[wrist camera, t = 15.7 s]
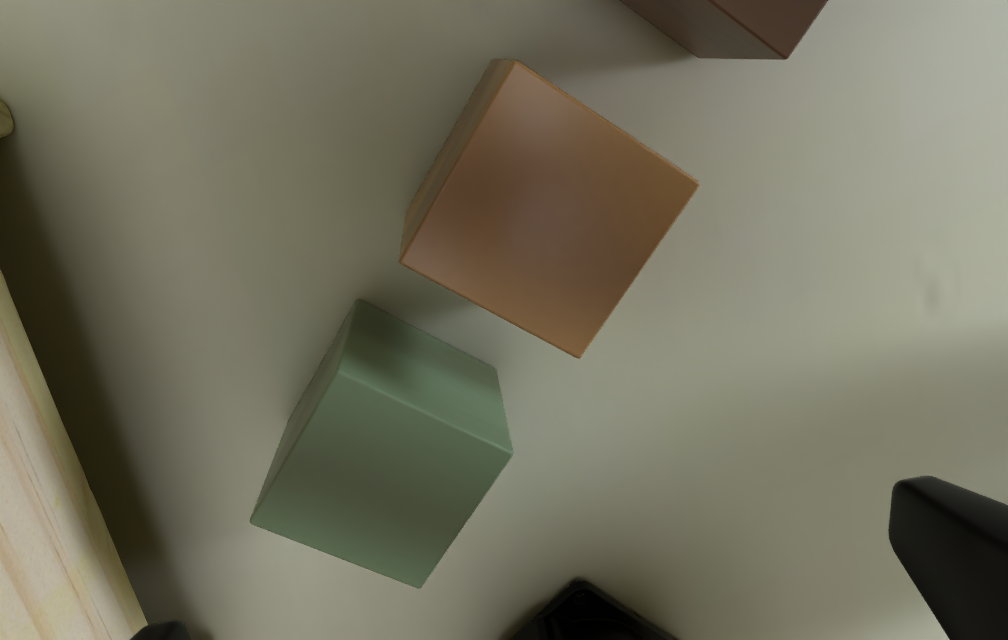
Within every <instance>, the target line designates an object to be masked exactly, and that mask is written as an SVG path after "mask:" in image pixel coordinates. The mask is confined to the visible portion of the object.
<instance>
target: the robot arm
mask: <svg viewBox="0 0 1008 640" xmlns="http://www.w3.org/2000/svg"><path fill="white" fill-rule="evenodd" d="M888 531H889V539H890V543H891V546H892V548H893V550H894V552H895V554H896V555H897V557H898V559H899V560H900V562H901V563H902V565H903V566H904V568H905V570H906V571H907V573H908V574H909V576H910V578H911V579H912V581H913V582H914V584H915V585H916V587H917V589H918V590H919V592H920V593H921V595H922V596H923V598H924V600H925V601H926V603H927V604H928V606H929V608H930V609H931V611H932V612H933V614H934V615H935V617H936V619H937V620H938V622H939V623H940V625H941V627H942V628H943V630H944V631H945V633H946V634H947V636H948V638H949V639H950V640H1008V505H1006V504H1004V503H1001V502H998V501H996V500H993V499H991V498H988V497H985V496H983V495H980V494H977V493H975V492H972V491H970V490H967V489H964V488H962V487H959V486H956V485H954V484H951V483H949V482H946V481H943V480H941V479H938V478H935V477H932V476H920V477H915V478H909V479H904V480H900V481H898V482H897V483H896V484H895V485H894V487H893V490H892V498H891V508H890V519H889V529H888ZM581 593H584V594H583V595H581V596H577V595H578V594H581ZM129 640H192V638H191V636H190V634H189V632H188V629H187V627H186V626H185V624H184V623H183V622H182V621H180V620H170V621H165V622H160V623H154V624H150V625H147V626H145V627H143V628H142V629H140V630H139V631H138V632H137V633H136V634H135V635H134V636H133V637H132V638H131V639H129ZM511 640H676V639H674V638H673V637H671V636H669V635H668V634H666V633H665V632H663V631H662V630H660V629H659V628H657V627H656V626H654V625H653V624H651V623H650V622H648V621H647V620H645V619H644V618H642V617H640V616H639V615H637V614H636V613H634V612H633V611H631V610H630V609H628V608H627V607H625V606H624V605H622V604H621V603H619V602H618V601H616V600H615V599H613V598H611V597H610V596H608V595H607V594H605V593H604V592H602V591H601V590H599V589H598V588H596V587H595V586H593V585H592V584H590V583H589V582H586V581H581V580H579V581H575V582H573V583H572V584H570V585H569V586H568V587H567V588H566V589H565V590H564V591H562V592H561V593H560V594H559V595H558V596H557V597H556V598H555V599H554V600H553V601H552V602H551V603H550V604H549V605H547V606H546V607H545V608H544V609H543V610H542V611H541V612H540V613H539V614H538V615H537V616H536V617H535V618H533V619H532V620H531V621H530V622H529V623H528V624H527V625H526V626H525V627H524V628H523V629H522V630H521V631H520V632H518V633H517V634H516V635H515V636H514V637H513V638H512V639H511Z"/></svg>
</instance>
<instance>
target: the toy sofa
mask: <svg viewBox="0 0 1008 640" xmlns="http://www.w3.org/2000/svg"><path fill="white" fill-rule="evenodd" d="M12 131H13V120H12V118H11V115H10V112H9V110H8V108H7V107H6V105H5V104H4V103H3V102H1V101H0V138H2V137H5V136H7V135H9V134H10V133H11V132H12ZM147 625H148V623H147V621H146V619H145V616H144V614H143V612H142V609H141V607H140V605H139V602H138V600H137V598H136V595H135V593H134V591H133V588H132V586H131V584H130V582H129V579H128V577H127V575H126V572H125V570H124V567H123V565H122V563H121V560H120V558H119V555H118V553H117V551H116V548H115V546H114V543H113V541H112V538H111V536H110V533H109V531H108V528H107V526H106V523H105V521H104V518H103V516H102V514H101V511H100V509H99V507H98V504H97V502H96V500H95V498H94V495H93V493H92V492H91V490H90V488H89V485H88V482H87V479H86V476H85V474H84V471H83V469H82V466H81V464H80V462H79V460H78V457H77V455H76V453H75V450H74V448H73V446H72V443H71V441H70V439H69V437H68V434H67V432H66V430H65V427H64V425H63V423H62V420H61V418H60V415H59V413H58V410H57V408H56V406H55V403H54V401H53V398H52V396H51V393H50V391H49V388H48V386H47V383H46V381H45V379H44V376H43V374H42V371H41V369H40V366H39V364H38V361H37V359H36V357H35V354H34V352H33V349H32V347H31V344H30V342H29V339H28V337H27V334H26V332H25V330H24V327H23V325H22V322H21V320H20V317H19V315H18V312H17V310H16V307H15V305H14V303H13V300H12V298H11V295H10V292H9V290H8V287H7V284H6V281H5V279H4V276H3V274H2V271H1V269H0V640H129V639H131V638H132V637H133V636H134V635H135V634H136V633H137V632H138V631H139V630H140V629H142V628H143V627H145V626H147Z"/></svg>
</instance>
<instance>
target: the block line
mask: <svg viewBox="0 0 1008 640" xmlns="http://www.w3.org/2000/svg"><path fill="white" fill-rule="evenodd" d="M620 1H622V2H623V3H624V4H626V5H627V6H628V7H630V8H631V9H632V10H634V11H635V12H637V13H638V14H639V15H641V16H642V17H643V18H645V19H646V20H648V21H649V22H650V23H652V24H653V25H654V26H656V27H657V28H658V29H660V30H661V31H663V32H664V33H665V34H667V35H668V36H669V37H671V38H672V39H673V40H675V41H676V42H678V43H679V44H680V45H682V46H683V47H684V48H686V49H687V50H688V51H690V52H691V53H693V54H694V55H695V56H697V57H698V58H720V59H776V60H786V59H788V58H789V56H790V55H791V53H792V52H793V50H794V49H795V47H796V46H797V45H798V43H799V42H800V40H801V39H802V37H803V36H804V34H805V33H806V32H807V30H808V29H809V27H810V26H811V24H812V23H813V21H814V20H815V19H816V17H817V16H818V14H819V13H820V11H821V10H822V8H823V7H824V6H825V4H826V3H827V1H828V0H620ZM699 185H700V183H699V181H698V180H696V179H695V178H693V177H692V176H690V175H689V174H687V173H686V172H684V171H683V170H681V169H680V168H678V167H677V166H675V165H674V164H672V163H671V162H669V161H668V160H666V159H665V158H663V157H662V156H660V155H659V154H657V153H656V152H654V151H653V150H651V149H650V148H648V147H647V146H645V145H644V144H642V143H641V142H639V141H638V140H636V139H635V138H633V137H632V136H630V135H629V134H627V133H626V132H624V131H623V130H621V129H620V128H618V127H617V126H615V125H614V124H612V123H610V122H609V121H607V120H606V119H604V118H603V117H601V116H600V115H598V114H597V113H595V112H594V111H592V110H591V109H589V108H588V107H586V106H585V105H583V104H582V103H580V102H579V101H577V100H576V99H574V98H573V97H571V96H570V95H568V94H567V93H565V92H564V91H562V90H561V89H559V88H558V87H556V86H555V85H553V84H552V83H550V82H549V81H547V80H546V79H544V78H543V77H541V76H540V75H538V74H537V73H535V72H534V71H532V70H531V69H529V68H528V67H526V66H525V65H523V64H522V63H520V62H519V61H517V60H508V59H495V58H493V59H492V60H491V62H490V64H489V66H488V67H487V69H486V71H485V73H484V74H483V76H482V78H481V80H480V81H479V83H478V85H477V87H476V89H475V90H474V92H473V94H472V96H471V97H470V99H469V101H468V103H467V105H466V106H465V108H464V110H463V112H462V113H461V115H460V117H459V119H458V121H457V122H456V124H455V126H454V128H453V129H452V131H451V133H450V135H449V137H448V138H447V140H446V142H445V144H444V145H443V147H442V149H441V151H440V153H439V154H438V156H437V158H436V160H435V161H434V163H433V165H432V167H431V169H430V170H429V172H428V174H427V176H426V177H425V179H424V181H423V183H422V185H421V186H420V188H419V190H418V192H417V193H416V195H415V197H414V199H413V201H412V202H411V204H410V206H409V208H408V209H407V211H406V216H405V223H404V230H403V236H402V243H401V249H400V256H399V263H400V264H402V265H403V266H405V267H407V268H409V269H411V270H413V271H415V272H417V273H418V274H420V275H422V276H424V277H426V278H428V279H430V280H431V281H433V282H435V283H437V284H439V285H441V286H443V287H445V288H446V289H448V290H450V291H452V292H454V293H456V294H458V295H460V296H461V297H463V298H465V299H467V300H469V301H471V302H473V303H475V304H476V305H478V306H480V307H482V308H484V309H486V310H488V311H489V312H491V313H493V314H495V315H497V316H499V317H501V318H503V319H504V320H506V321H508V322H510V323H512V324H514V325H516V326H518V327H519V328H521V329H523V330H525V331H527V332H529V333H531V334H532V335H534V336H536V337H538V338H540V339H542V340H544V341H546V342H547V343H549V344H551V345H553V346H555V347H557V348H559V349H561V350H562V351H564V352H566V353H568V354H570V355H572V356H574V357H575V358H580V357H581V356H582V355H583V353H584V352H585V350H586V349H587V347H588V346H589V344H590V343H591V342H592V340H593V339H594V337H595V336H596V334H597V333H598V331H599V330H600V329H601V327H602V326H603V324H604V323H605V321H606V320H607V318H608V317H609V316H610V314H611V313H612V311H613V310H614V308H615V307H616V305H617V304H618V303H619V301H620V300H621V298H622V297H623V295H624V294H625V292H626V291H627V290H628V288H629V287H630V285H631V284H632V282H633V281H634V279H635V278H636V277H637V275H638V274H639V272H640V271H641V269H642V268H643V266H644V265H645V264H646V262H647V261H648V259H649V258H650V256H651V255H652V253H653V252H654V251H655V249H656V248H657V246H658V245H659V243H660V242H661V240H662V239H663V238H664V236H665V235H666V233H667V232H668V230H669V229H670V227H671V226H672V225H673V223H674V222H675V220H676V219H677V217H678V216H679V214H680V213H681V212H682V210H683V209H684V207H685V206H686V204H687V203H688V201H689V200H690V199H691V197H692V196H693V194H694V193H695V191H696V190H697V188H698V187H699ZM512 455H513V448H512V443H511V438H510V433H509V429H508V424H507V419H506V414H505V409H504V405H503V400H502V395H501V390H500V385H499V381H498V376H497V371H496V369H495V368H493V367H491V366H489V365H487V364H485V363H483V362H481V361H479V360H477V359H475V358H473V357H471V356H469V355H467V354H465V353H464V352H462V351H460V350H458V349H456V348H454V347H452V346H450V345H448V344H446V343H444V342H442V341H440V340H438V339H436V338H434V337H432V336H430V335H428V334H426V333H424V332H422V331H420V330H418V329H416V328H414V327H412V326H410V325H408V324H406V323H405V322H403V321H401V320H399V319H397V318H395V317H393V316H391V315H389V314H387V313H385V312H383V311H381V310H379V309H377V308H375V307H373V306H371V305H369V304H367V303H365V302H363V301H361V300H357V301H356V302H355V304H354V305H353V307H352V309H351V311H350V312H349V314H348V316H347V318H346V320H345V321H344V323H343V325H342V327H341V328H340V330H339V332H338V334H337V336H336V337H335V339H334V341H333V343H332V344H331V346H330V348H329V350H328V352H327V353H326V355H325V357H324V359H323V360H322V362H321V364H320V366H319V367H318V369H317V371H316V373H315V375H314V376H313V378H312V380H311V382H310V383H309V385H308V387H307V389H306V391H305V392H304V394H303V396H302V398H301V399H300V401H299V403H298V405H297V407H296V408H295V410H294V412H293V414H292V415H291V417H290V419H289V421H288V423H287V425H286V428H285V430H284V433H283V435H282V438H281V440H280V443H279V446H278V448H277V451H276V453H275V456H274V459H273V461H272V464H271V466H270V469H269V472H268V474H267V477H266V479H265V482H264V484H263V487H262V490H261V492H260V495H259V497H258V500H257V503H256V505H255V508H254V510H253V513H252V515H251V518H250V523H251V524H253V525H255V526H258V527H260V528H263V529H266V530H268V531H271V532H273V533H276V534H279V535H281V536H284V537H286V538H289V539H291V540H294V541H297V542H299V543H302V544H304V545H307V546H310V547H312V548H315V549H317V550H320V551H322V552H325V553H328V554H330V555H333V556H335V557H338V558H341V559H343V560H346V561H348V562H351V563H353V564H356V565H359V566H361V567H364V568H366V569H369V570H372V571H374V572H377V573H379V574H382V575H384V576H387V577H390V578H392V579H395V580H397V581H400V582H403V583H405V584H408V585H410V586H413V587H415V588H421V587H422V585H423V584H424V583H425V581H426V580H427V578H428V577H429V575H430V574H431V572H432V571H433V570H434V568H435V567H436V565H437V564H438V562H439V561H440V559H441V558H442V557H443V555H444V554H445V552H446V551H447V549H448V548H449V546H450V545H451V544H452V542H453V541H454V539H455V538H456V536H457V535H458V533H459V532H460V531H461V529H462V528H463V526H464V525H465V523H466V522H467V520H468V519H469V518H470V516H471V515H472V513H473V512H474V510H475V509H476V507H477V506H478V505H479V503H480V502H481V500H482V499H483V497H484V496H485V494H486V493H487V492H488V490H489V489H490V487H491V486H492V484H493V483H494V481H495V480H496V479H497V477H498V476H499V474H500V473H501V471H502V470H503V468H504V467H505V466H506V464H507V463H508V461H509V460H510V458H511V457H512Z"/></svg>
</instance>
